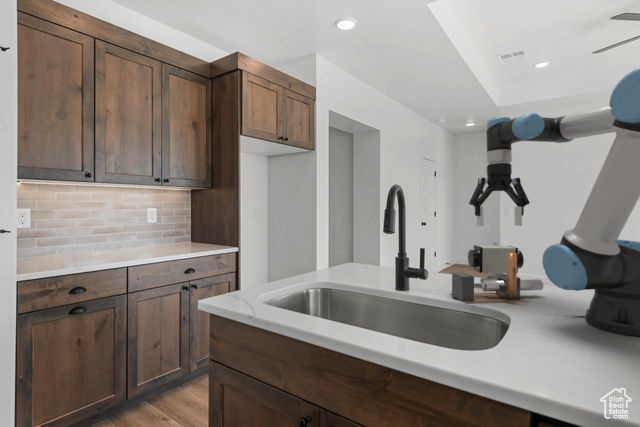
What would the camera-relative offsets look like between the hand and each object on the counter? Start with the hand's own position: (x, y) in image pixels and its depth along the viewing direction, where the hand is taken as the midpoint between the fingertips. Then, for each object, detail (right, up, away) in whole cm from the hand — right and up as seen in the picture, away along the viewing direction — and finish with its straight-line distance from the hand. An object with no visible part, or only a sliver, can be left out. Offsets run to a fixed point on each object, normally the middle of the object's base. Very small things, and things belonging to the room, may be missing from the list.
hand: (499, 225), depth 119 cm
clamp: (+2, -24, -1) cm, 24 cm away
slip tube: (+4, -22, -4) cm, 23 cm away
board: (-5, -25, -2) cm, 26 cm away
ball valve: (+6, -25, +15) cm, 30 cm away
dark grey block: (-14, -24, -3) cm, 28 cm away
